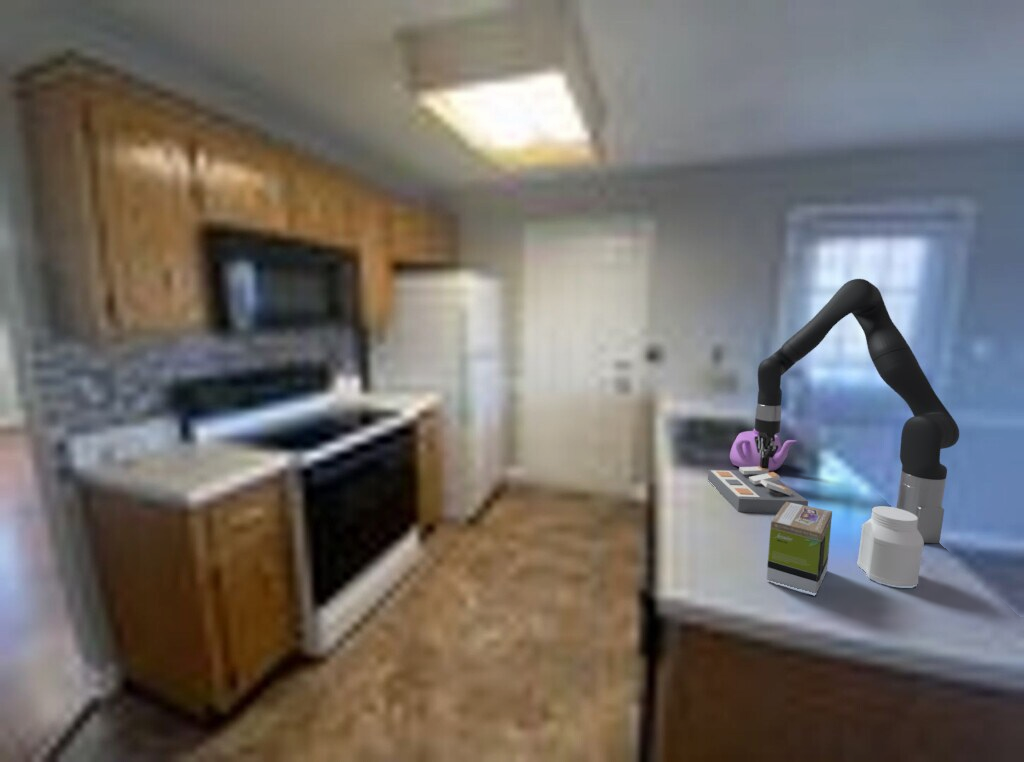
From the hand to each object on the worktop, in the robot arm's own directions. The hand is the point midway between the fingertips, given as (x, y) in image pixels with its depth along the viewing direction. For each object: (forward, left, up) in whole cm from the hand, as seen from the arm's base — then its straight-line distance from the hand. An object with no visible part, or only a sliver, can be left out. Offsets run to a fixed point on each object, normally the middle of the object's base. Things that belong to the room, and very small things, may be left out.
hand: (763, 467), depth 171 cm
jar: (-56, -4, -7) cm, 57 cm away
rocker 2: (-8, +3, -1) cm, 9 cm away
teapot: (+22, -8, -7) cm, 24 cm away
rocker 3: (-16, +3, -1) cm, 17 cm away
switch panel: (-8, +6, -7) cm, 12 cm away
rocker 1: (0, +3, -1) cm, 4 cm away
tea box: (-58, +17, -7) cm, 61 cm away
